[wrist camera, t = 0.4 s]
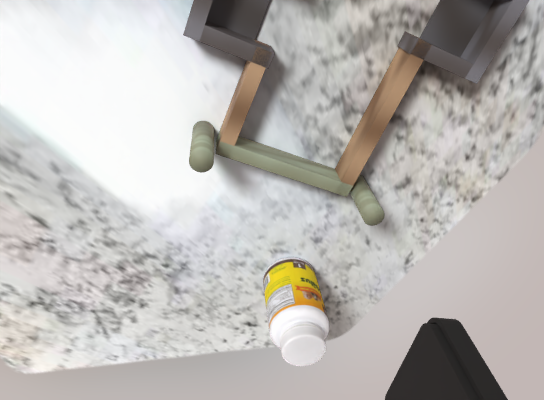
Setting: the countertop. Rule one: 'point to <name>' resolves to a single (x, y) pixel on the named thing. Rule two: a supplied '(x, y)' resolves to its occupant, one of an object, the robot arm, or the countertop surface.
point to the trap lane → (412, 51)
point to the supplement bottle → (295, 311)
